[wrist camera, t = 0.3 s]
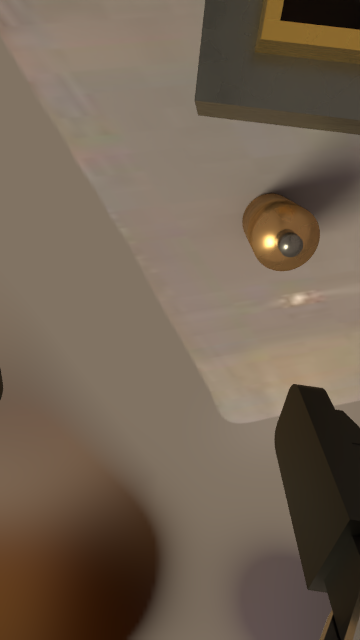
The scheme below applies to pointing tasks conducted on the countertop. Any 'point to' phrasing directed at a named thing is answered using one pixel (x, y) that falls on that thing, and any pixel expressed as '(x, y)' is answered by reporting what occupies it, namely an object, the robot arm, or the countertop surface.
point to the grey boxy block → (277, 68)
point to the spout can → (280, 232)
